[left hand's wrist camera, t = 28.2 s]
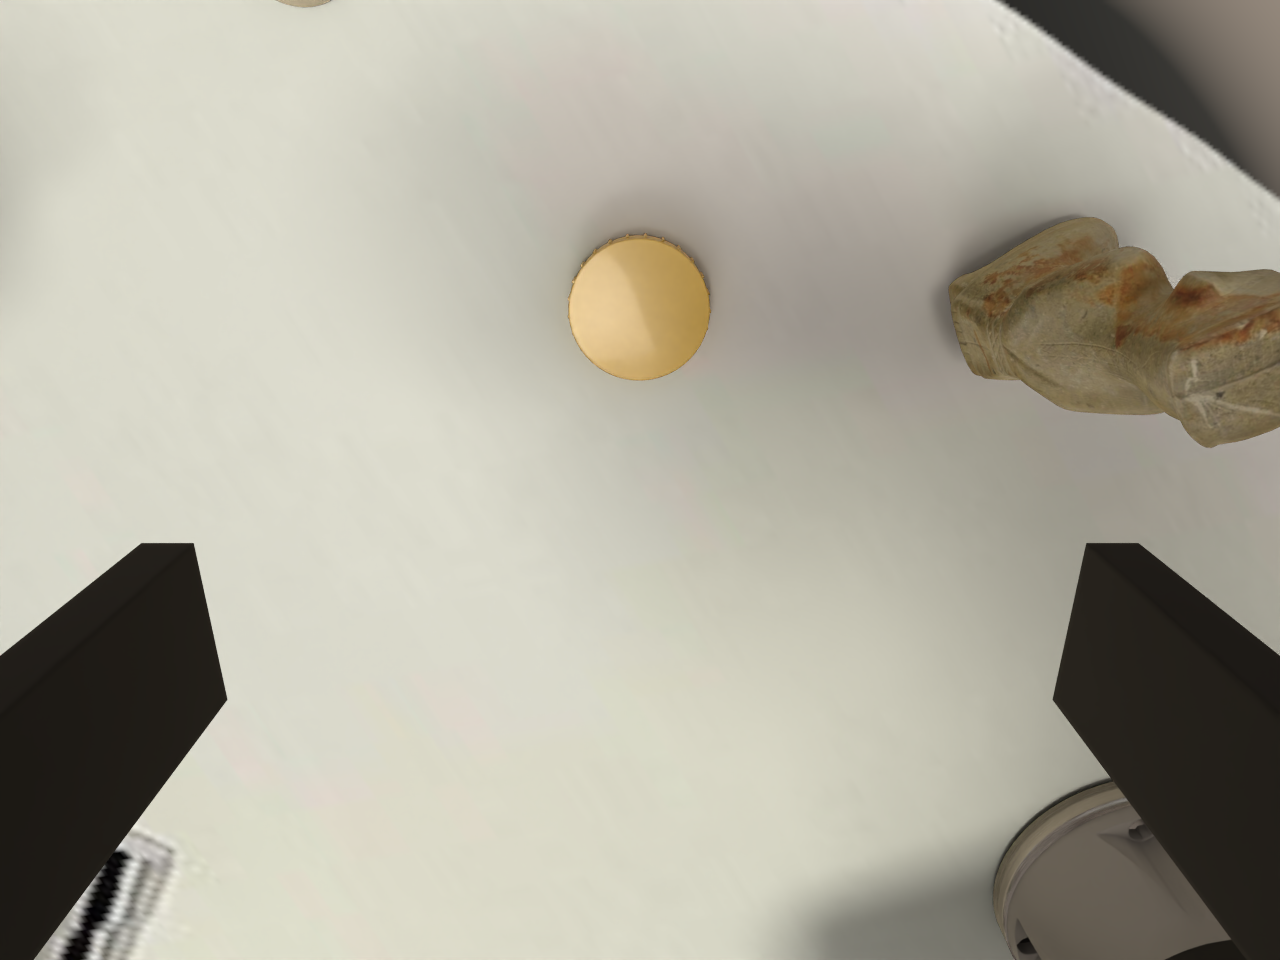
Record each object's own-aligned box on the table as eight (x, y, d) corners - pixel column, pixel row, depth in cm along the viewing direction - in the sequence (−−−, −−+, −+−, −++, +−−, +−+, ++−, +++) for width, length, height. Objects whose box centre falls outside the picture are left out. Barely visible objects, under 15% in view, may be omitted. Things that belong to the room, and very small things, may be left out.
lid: (709, 370, 37) (712, 379, 36) (574, 375, 38) (571, 385, 36) (708, 230, 35) (711, 233, 34) (564, 236, 35) (561, 240, 34)
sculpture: (1114, 323, 36) (1407, 433, 23) (951, 383, 37) (1135, 524, 24) (1088, 191, 34) (1393, 222, 21) (916, 258, 35) (1096, 331, 22)
